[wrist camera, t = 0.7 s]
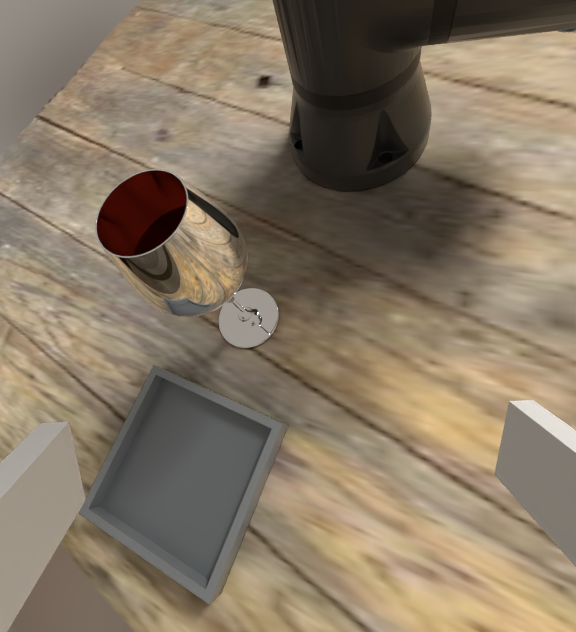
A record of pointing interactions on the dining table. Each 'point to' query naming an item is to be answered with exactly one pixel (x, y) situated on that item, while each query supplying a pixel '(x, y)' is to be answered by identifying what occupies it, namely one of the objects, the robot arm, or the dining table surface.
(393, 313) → the dining table surface
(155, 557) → the tray
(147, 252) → the wineglass
